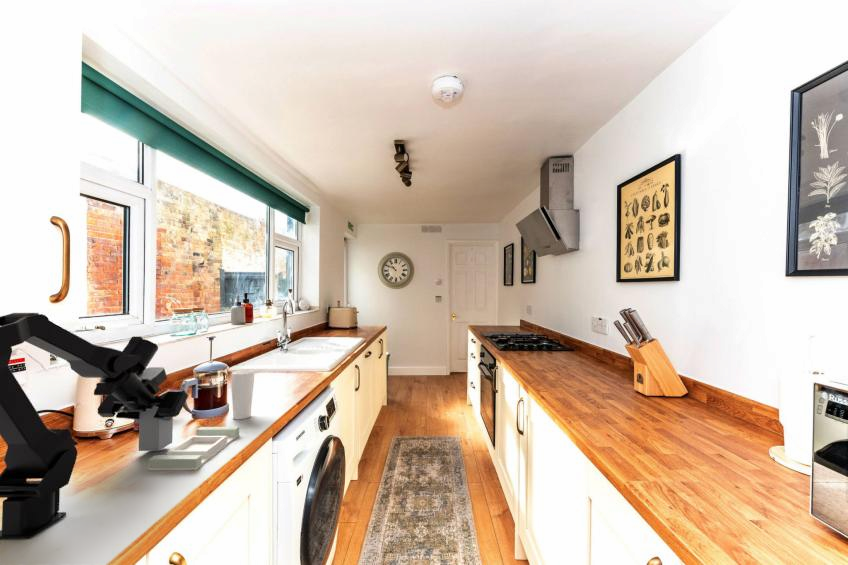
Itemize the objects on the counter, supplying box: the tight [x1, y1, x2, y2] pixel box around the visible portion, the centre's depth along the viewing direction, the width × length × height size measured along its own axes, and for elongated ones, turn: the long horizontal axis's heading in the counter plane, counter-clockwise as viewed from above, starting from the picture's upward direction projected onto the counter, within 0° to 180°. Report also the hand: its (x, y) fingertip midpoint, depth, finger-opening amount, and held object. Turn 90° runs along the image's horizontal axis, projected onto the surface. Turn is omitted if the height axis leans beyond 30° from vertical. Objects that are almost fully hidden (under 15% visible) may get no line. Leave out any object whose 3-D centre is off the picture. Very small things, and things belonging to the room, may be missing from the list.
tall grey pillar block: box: [138, 406, 174, 452], centre depth 93 cm, size 5×5×12 cm
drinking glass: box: [230, 369, 255, 421], centre depth 118 cm, size 7×7×15 cm
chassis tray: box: [147, 426, 240, 471], centre depth 93 cm, size 20×11×2 cm, turn 1°
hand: (160, 419), depth 94 cm, fingers closed on tall grey pillar block, 5 cm apart
